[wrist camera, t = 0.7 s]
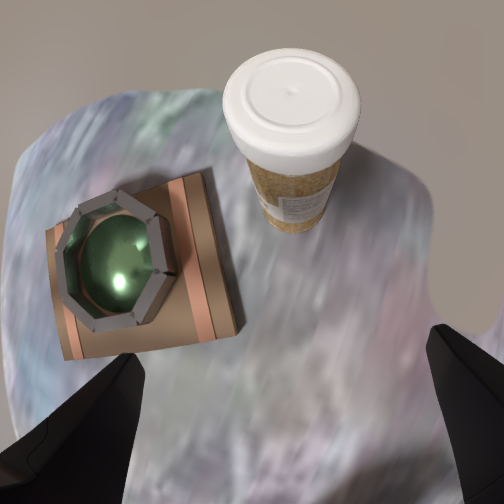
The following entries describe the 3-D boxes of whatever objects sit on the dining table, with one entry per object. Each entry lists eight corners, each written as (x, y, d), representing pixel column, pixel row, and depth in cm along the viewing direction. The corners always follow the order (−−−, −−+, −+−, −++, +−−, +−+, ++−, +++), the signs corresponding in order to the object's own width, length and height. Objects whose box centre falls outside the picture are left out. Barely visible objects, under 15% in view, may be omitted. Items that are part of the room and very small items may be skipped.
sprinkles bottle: (256, 182, 22) (211, 57, 9) (316, 169, 22) (336, 36, 8) (269, 241, 22) (231, 167, 8) (332, 228, 21) (384, 139, 8)
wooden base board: (238, 333, 21) (235, 335, 20) (71, 358, 23) (63, 360, 21) (203, 176, 23) (199, 171, 22) (52, 232, 24) (44, 230, 23)
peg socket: (188, 315, 21) (177, 318, 19) (82, 335, 22) (67, 337, 20) (163, 184, 22) (152, 175, 20) (66, 221, 23) (52, 216, 21)
